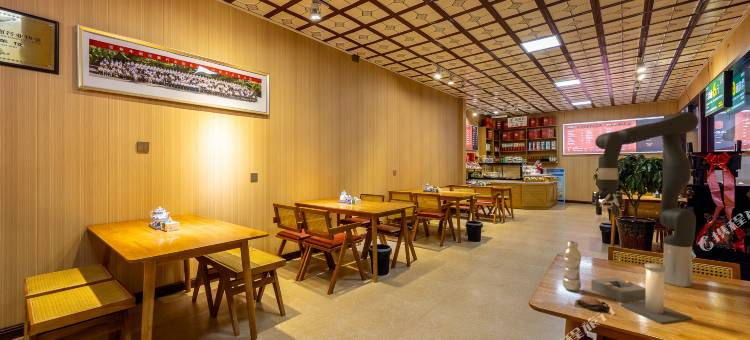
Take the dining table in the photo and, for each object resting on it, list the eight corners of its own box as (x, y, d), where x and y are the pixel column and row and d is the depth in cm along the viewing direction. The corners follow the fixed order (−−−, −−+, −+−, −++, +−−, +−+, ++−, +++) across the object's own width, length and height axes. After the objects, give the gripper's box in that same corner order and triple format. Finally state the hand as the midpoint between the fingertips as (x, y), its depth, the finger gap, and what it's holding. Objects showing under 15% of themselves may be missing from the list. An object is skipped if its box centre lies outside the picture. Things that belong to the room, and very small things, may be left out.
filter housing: (616, 286, 141) (616, 275, 141) (647, 299, 129) (648, 286, 129) (591, 289, 138) (591, 278, 138) (621, 302, 126) (621, 289, 126)
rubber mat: (649, 302, 126) (649, 300, 126) (692, 319, 112) (692, 317, 112) (620, 305, 122) (620, 304, 122) (660, 323, 109) (660, 322, 109)
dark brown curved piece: (573, 308, 122) (573, 298, 121) (576, 300, 128) (576, 291, 128) (608, 316, 115) (609, 306, 115) (609, 307, 122) (609, 297, 122)
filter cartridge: (652, 306, 121) (652, 262, 120) (669, 313, 115) (669, 267, 115) (640, 308, 119) (640, 264, 119) (656, 314, 114) (657, 268, 114)
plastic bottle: (583, 293, 134) (584, 244, 133) (565, 292, 135) (566, 243, 135) (577, 287, 140) (578, 240, 140) (560, 286, 142) (561, 240, 141)
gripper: (602, 178, 140) (601, 216, 141) (628, 178, 144) (627, 215, 144) (587, 178, 148) (586, 214, 148) (612, 177, 151) (611, 213, 151)
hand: (606, 214), depth 146 cm, fingers open, 8 cm apart
